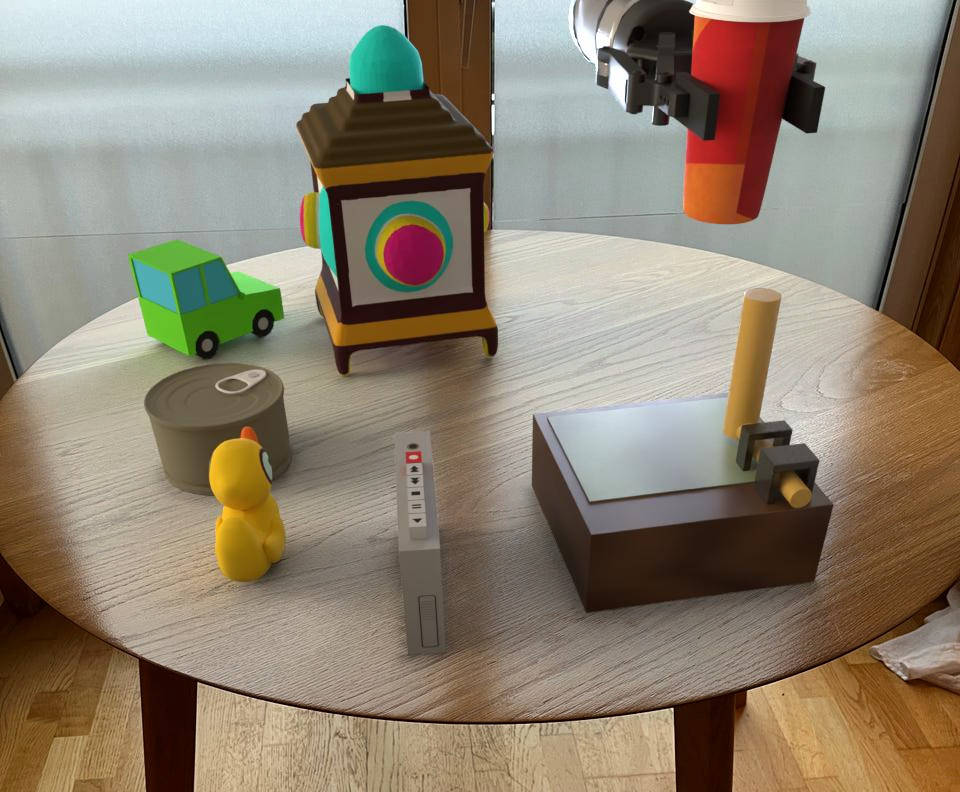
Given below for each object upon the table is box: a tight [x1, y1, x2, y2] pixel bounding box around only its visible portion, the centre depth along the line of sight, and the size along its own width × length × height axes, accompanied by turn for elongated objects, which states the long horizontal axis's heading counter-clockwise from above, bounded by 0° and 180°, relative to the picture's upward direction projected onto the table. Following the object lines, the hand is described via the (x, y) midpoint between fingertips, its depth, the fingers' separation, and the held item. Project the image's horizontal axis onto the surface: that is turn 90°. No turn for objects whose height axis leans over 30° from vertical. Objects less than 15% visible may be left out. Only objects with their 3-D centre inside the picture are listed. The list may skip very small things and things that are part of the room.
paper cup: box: [682, 0, 811, 225], centre depth 69 cm, size 8×8×14 cm
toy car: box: [127, 238, 285, 360], centre depth 109 cm, size 10×13×10 cm
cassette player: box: [394, 430, 447, 656], centre depth 73 cm, size 16×3×10 cm, turn 5°
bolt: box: [723, 287, 812, 508], centre depth 71 cm, size 3×12×11 cm, turn 11°
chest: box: [531, 392, 835, 614], centre depth 78 cm, size 18×18×10 cm
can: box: [143, 362, 293, 496], centre depth 89 cm, size 12×12×7 cm
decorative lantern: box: [295, 24, 499, 377], centre depth 101 cm, size 20×20×30 cm
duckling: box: [209, 427, 287, 583], centre depth 76 cm, size 11×5×10 cm, turn 1°
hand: (764, 113), depth 64 cm, fingers closed on paper cup, 6 cm apart
